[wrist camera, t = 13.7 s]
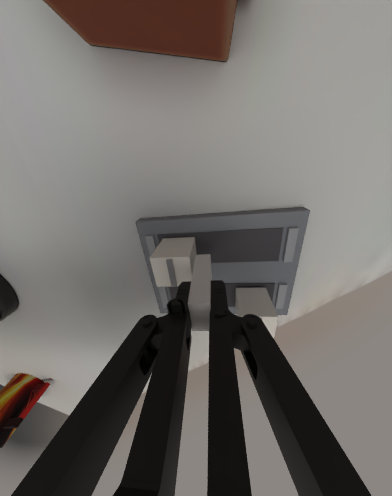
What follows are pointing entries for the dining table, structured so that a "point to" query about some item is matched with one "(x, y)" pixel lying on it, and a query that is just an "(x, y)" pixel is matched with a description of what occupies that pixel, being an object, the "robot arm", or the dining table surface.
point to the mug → (18, 402)
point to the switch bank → (236, 249)
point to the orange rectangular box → (153, 25)
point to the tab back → (256, 306)
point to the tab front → (173, 261)
